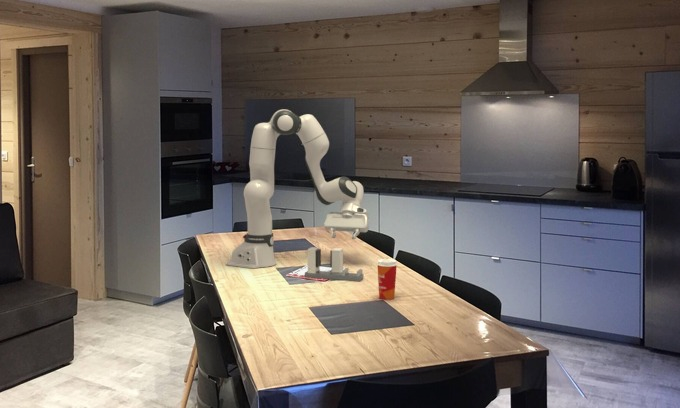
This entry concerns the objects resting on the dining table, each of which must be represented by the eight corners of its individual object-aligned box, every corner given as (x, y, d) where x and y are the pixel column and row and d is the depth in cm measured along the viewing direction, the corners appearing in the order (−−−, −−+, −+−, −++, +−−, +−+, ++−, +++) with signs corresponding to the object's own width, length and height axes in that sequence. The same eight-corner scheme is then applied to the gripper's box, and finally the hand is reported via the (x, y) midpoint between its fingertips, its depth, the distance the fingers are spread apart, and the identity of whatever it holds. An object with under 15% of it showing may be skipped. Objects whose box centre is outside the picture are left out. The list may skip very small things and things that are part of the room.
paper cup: (375, 295, 252) (375, 258, 250) (395, 294, 253) (395, 258, 251) (377, 300, 244) (378, 263, 242) (398, 300, 245) (399, 262, 243)
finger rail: (304, 277, 280) (304, 249, 278) (308, 274, 284) (308, 246, 283) (360, 281, 273) (360, 252, 271) (363, 278, 277) (363, 250, 276)
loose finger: (330, 272, 288) (330, 250, 287) (333, 270, 293) (333, 247, 291) (339, 273, 287) (339, 250, 285) (343, 271, 291) (343, 248, 290)
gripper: (326, 208, 306) (319, 232, 298) (369, 209, 300) (363, 234, 292) (329, 216, 310) (322, 240, 302) (372, 218, 304) (366, 243, 296)
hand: (343, 237), depth 297 cm, fingers open, 8 cm apart
